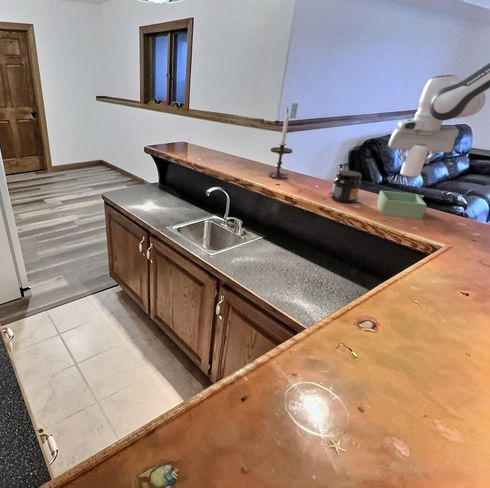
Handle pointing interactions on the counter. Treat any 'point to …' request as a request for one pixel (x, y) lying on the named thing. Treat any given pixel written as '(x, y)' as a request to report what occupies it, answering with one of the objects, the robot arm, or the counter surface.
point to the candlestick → (281, 150)
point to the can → (414, 161)
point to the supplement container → (346, 186)
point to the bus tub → (401, 204)
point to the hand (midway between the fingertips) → (414, 162)
